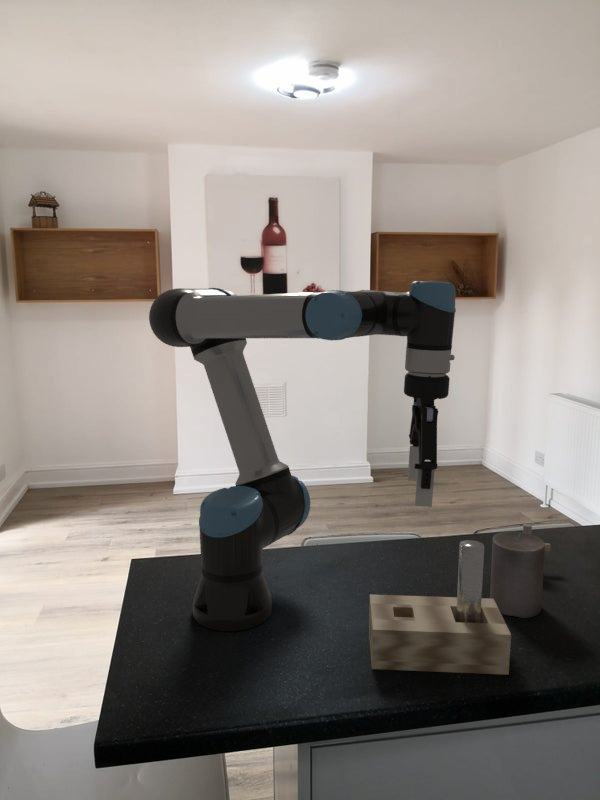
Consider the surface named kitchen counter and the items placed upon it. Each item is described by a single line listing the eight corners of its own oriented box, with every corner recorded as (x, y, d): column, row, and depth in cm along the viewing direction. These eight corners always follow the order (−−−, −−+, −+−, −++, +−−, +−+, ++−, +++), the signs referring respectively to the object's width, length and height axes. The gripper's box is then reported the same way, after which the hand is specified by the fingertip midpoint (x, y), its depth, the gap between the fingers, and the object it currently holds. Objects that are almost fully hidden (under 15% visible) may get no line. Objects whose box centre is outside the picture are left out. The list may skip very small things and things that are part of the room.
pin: (457, 650, 106) (461, 549, 103) (453, 637, 110) (457, 539, 107) (481, 651, 105) (486, 550, 102) (476, 638, 109) (481, 540, 106)
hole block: (371, 668, 103) (372, 629, 102) (368, 630, 115) (369, 594, 114) (508, 674, 102) (511, 634, 100) (491, 634, 113) (493, 598, 112)
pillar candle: (518, 591, 130) (521, 522, 127) (552, 613, 121) (557, 539, 118) (479, 599, 126) (481, 529, 124) (511, 623, 118) (515, 547, 115)
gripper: (462, 386, 94) (451, 519, 99) (439, 364, 119) (431, 472, 123) (412, 384, 95) (403, 516, 99) (399, 362, 119) (392, 470, 123)
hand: (418, 492), depth 111 cm, fingers open, 13 cm apart
